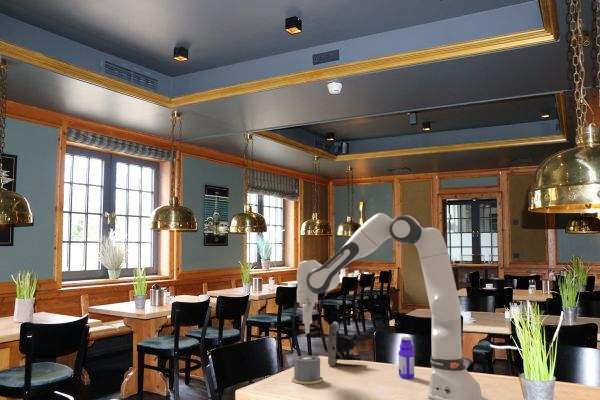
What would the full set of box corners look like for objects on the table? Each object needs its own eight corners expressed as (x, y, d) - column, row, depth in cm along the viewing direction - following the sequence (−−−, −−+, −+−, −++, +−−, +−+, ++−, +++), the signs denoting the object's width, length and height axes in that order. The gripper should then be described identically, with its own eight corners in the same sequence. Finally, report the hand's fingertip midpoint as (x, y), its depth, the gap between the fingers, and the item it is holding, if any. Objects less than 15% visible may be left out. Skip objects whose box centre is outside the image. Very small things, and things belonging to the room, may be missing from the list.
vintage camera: (360, 369, 240) (361, 325, 241) (327, 366, 243) (328, 323, 245) (362, 364, 249) (363, 322, 251) (330, 362, 252) (331, 320, 254)
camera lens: (317, 368, 217) (317, 359, 217) (304, 370, 214) (304, 360, 214) (309, 365, 222) (309, 356, 222) (297, 367, 219) (297, 357, 220)
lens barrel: (328, 382, 215) (328, 359, 216) (301, 386, 209) (301, 363, 210) (312, 375, 226) (312, 354, 227) (286, 378, 220) (286, 357, 221)
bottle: (417, 378, 221) (416, 337, 222) (405, 380, 219) (405, 337, 220) (407, 374, 227) (406, 334, 229) (396, 376, 225) (395, 335, 227)
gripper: (315, 300, 210) (315, 335, 209) (314, 295, 231) (314, 327, 229) (299, 300, 210) (299, 335, 209) (300, 295, 231) (300, 327, 229)
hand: (307, 331), depth 219 cm, fingers open, 8 cm apart
